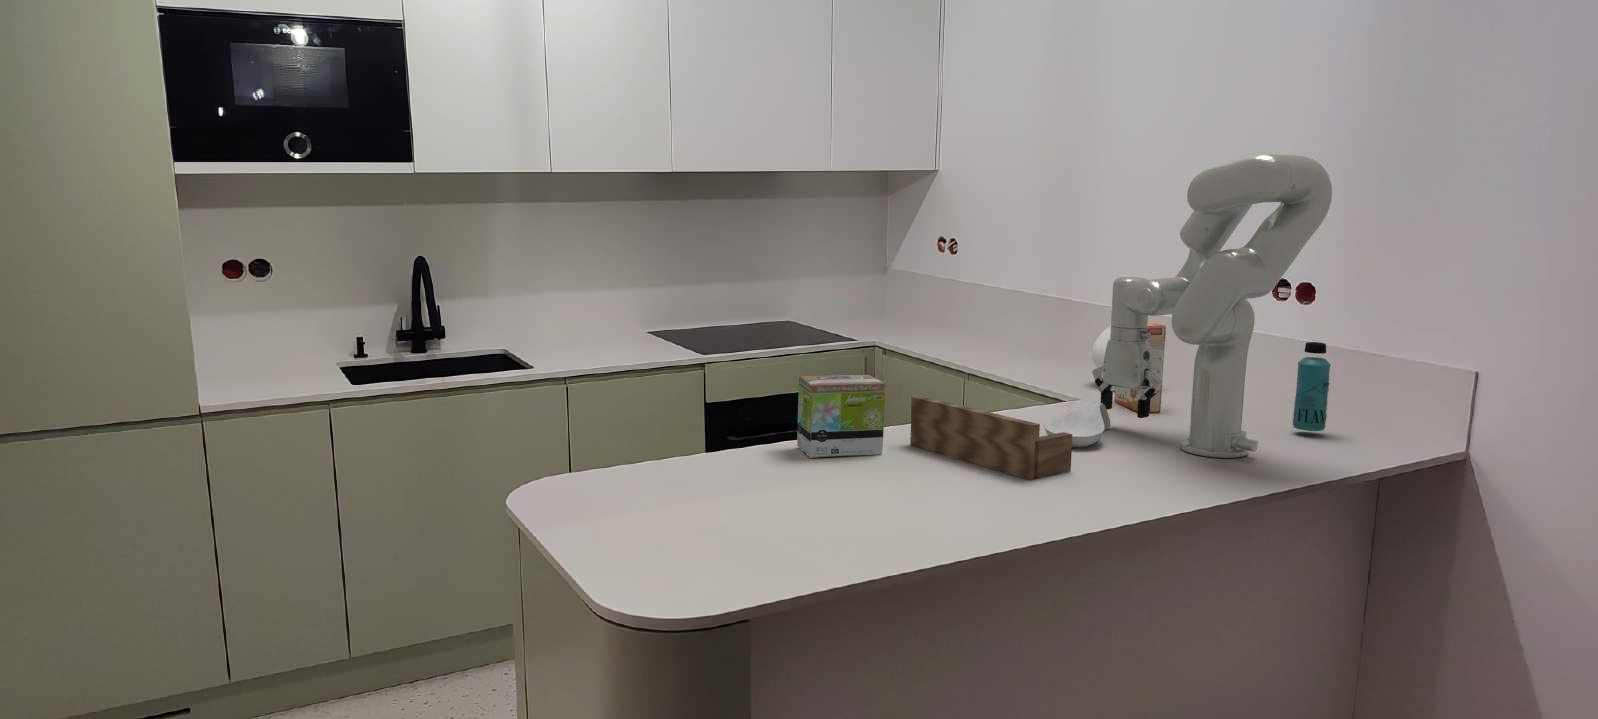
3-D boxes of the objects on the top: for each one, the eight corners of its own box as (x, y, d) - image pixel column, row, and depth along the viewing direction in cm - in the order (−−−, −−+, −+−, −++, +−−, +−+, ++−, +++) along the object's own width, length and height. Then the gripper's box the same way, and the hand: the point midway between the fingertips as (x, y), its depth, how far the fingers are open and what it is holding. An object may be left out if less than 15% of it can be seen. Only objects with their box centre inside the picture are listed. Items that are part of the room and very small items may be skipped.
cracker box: (1162, 413, 243) (1167, 324, 240) (1137, 413, 242) (1142, 325, 239) (1136, 401, 257) (1141, 317, 253) (1113, 401, 256) (1118, 318, 253)
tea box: (810, 460, 198) (811, 384, 196) (796, 447, 208) (797, 375, 205) (884, 455, 202) (885, 380, 200) (867, 443, 212) (868, 372, 209)
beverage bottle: (1290, 436, 220) (1298, 343, 217) (1292, 430, 226) (1299, 339, 223) (1324, 439, 217) (1333, 345, 214) (1325, 433, 223) (1333, 341, 220)
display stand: (1070, 471, 191) (1073, 418, 189) (1029, 480, 184) (1032, 425, 183) (949, 437, 217) (951, 391, 215) (910, 445, 210) (911, 396, 209)
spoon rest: (1093, 455, 204) (1095, 419, 203) (1035, 447, 210) (1037, 412, 209) (1125, 432, 224) (1127, 400, 223) (1071, 426, 230) (1073, 394, 229)
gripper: (1174, 338, 216) (1169, 418, 219) (1107, 329, 230) (1103, 404, 233) (1151, 341, 212) (1147, 422, 215) (1084, 331, 226) (1081, 408, 229)
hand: (1124, 413), depth 224 cm, fingers open, 9 cm apart
